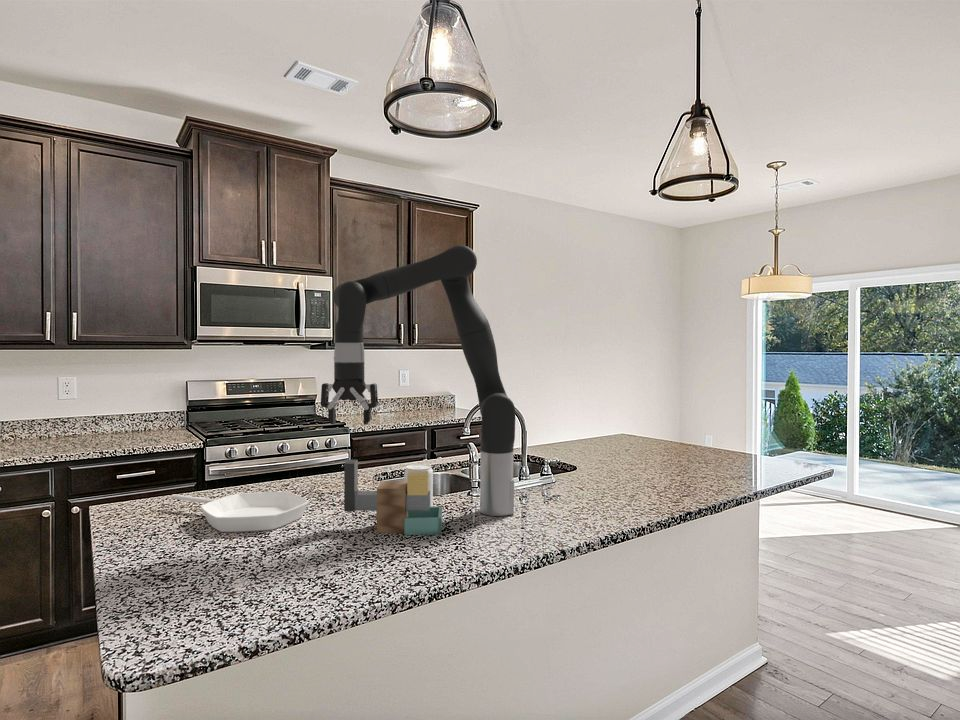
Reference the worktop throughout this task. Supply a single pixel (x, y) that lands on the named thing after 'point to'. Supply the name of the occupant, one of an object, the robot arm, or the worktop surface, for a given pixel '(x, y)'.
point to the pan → (251, 510)
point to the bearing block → (391, 506)
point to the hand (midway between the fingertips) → (349, 424)
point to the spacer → (418, 482)
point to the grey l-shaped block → (373, 494)
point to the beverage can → (421, 468)
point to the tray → (424, 522)
